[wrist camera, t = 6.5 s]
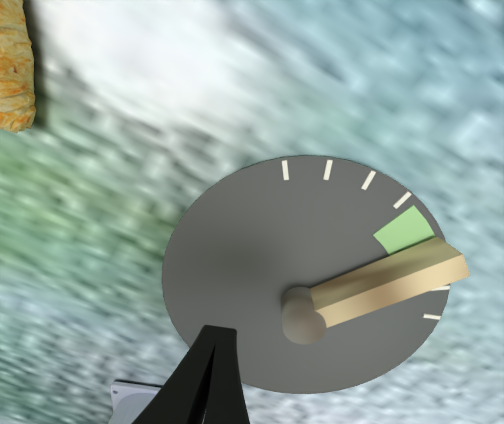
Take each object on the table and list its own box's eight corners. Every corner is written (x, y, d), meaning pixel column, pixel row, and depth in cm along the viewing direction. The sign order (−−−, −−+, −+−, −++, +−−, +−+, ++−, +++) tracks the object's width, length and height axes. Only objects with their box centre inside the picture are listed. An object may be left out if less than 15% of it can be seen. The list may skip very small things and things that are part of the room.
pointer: (291, 322, 19) (294, 349, 17) (274, 295, 18) (275, 320, 16) (447, 262, 17) (475, 286, 14) (435, 228, 16) (462, 247, 14)
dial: (392, 399, 23) (396, 409, 22) (167, 368, 24) (163, 377, 23) (496, 176, 16) (509, 179, 15) (162, 136, 16) (157, 138, 15)
